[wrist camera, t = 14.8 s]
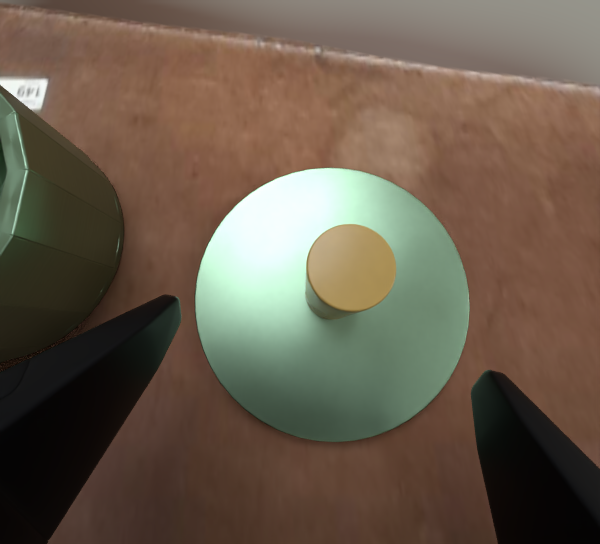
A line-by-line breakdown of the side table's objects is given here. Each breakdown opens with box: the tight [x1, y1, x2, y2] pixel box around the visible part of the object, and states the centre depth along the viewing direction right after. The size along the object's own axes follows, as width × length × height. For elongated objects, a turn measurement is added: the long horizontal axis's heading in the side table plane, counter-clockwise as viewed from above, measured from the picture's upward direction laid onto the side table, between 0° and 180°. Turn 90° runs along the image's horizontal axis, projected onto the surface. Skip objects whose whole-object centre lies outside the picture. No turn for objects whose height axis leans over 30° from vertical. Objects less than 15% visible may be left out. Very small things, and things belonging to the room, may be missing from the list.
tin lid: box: [195, 168, 470, 442], centre depth 12 cm, size 14×14×8 cm
